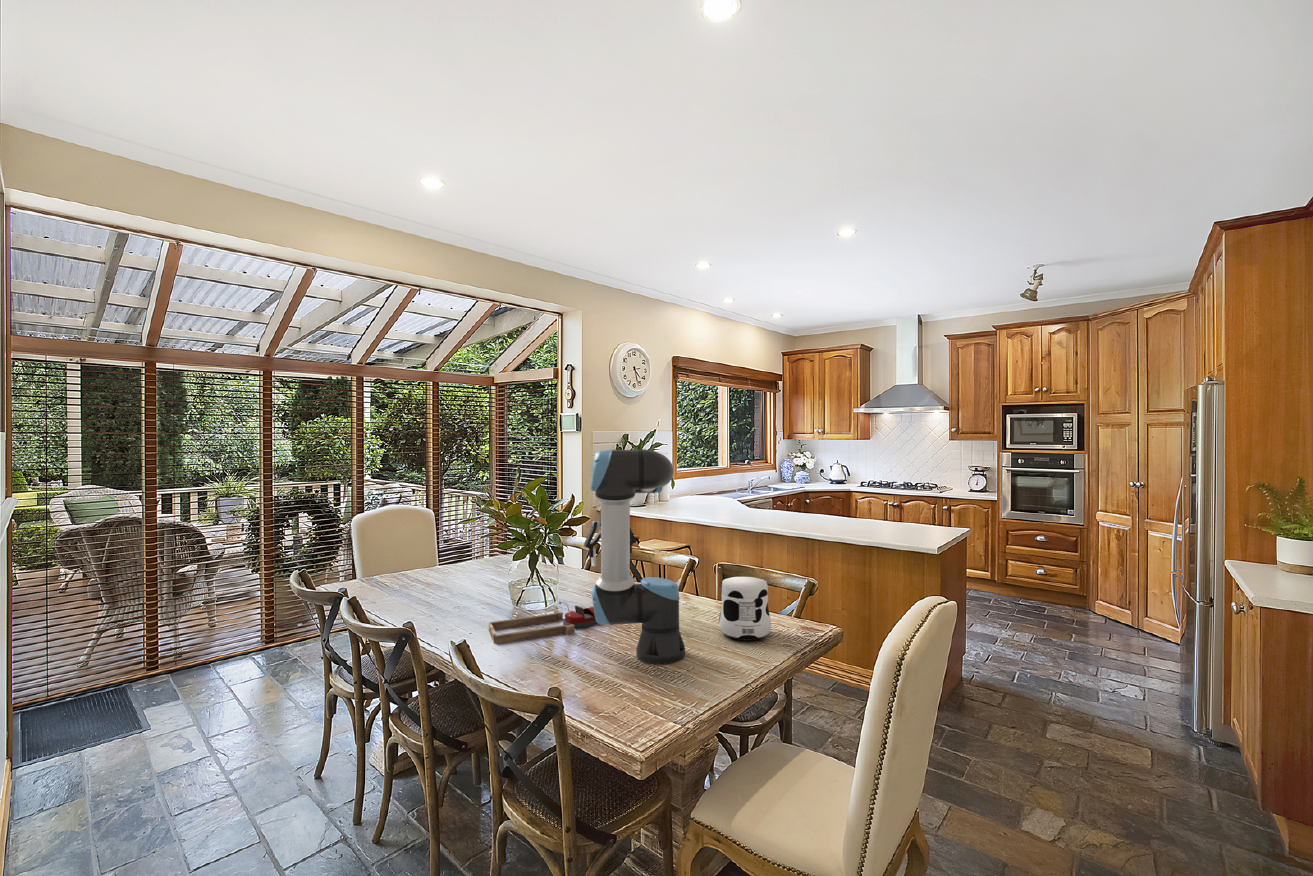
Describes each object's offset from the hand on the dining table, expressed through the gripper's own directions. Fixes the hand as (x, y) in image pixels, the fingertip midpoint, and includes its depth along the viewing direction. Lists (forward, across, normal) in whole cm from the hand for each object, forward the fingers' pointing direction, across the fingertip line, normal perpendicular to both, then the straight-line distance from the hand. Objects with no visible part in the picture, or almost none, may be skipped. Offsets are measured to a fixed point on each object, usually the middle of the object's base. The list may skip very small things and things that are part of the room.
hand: (610, 564), depth 215 cm
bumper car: (+20, +12, +1) cm, 24 cm away
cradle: (+20, +30, +1) cm, 36 cm away
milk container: (+20, -33, +39) cm, 55 cm away
